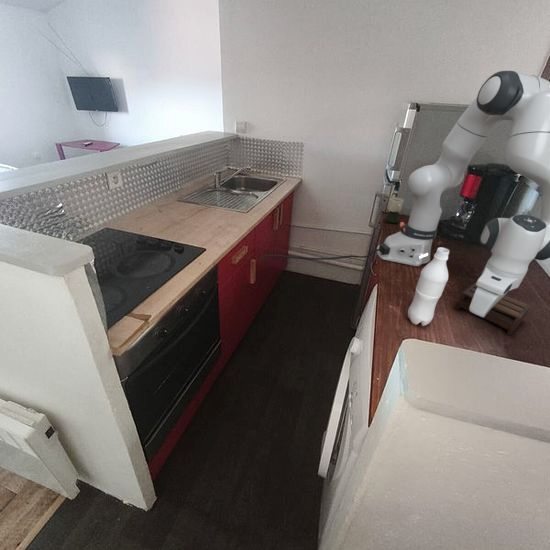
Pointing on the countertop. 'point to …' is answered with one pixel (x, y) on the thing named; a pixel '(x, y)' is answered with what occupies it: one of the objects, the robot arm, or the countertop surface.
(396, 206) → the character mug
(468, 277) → the countertop surface
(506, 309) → the rack
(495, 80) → the robot arm
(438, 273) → the water bottle
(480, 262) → the countertop surface
